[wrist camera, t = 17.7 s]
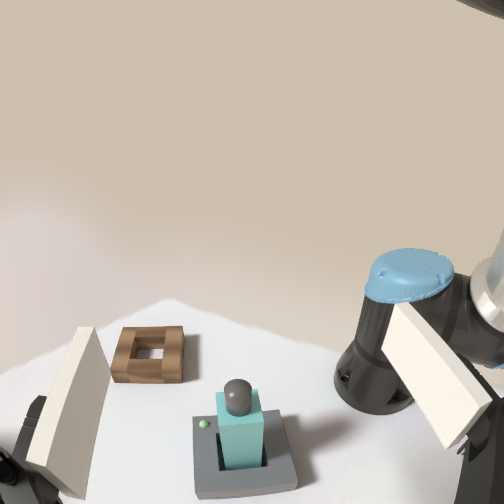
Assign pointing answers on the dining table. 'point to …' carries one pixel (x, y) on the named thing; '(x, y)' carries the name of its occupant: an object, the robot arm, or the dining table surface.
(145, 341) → the holster
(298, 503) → the dining table surface
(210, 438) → the port
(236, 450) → the plug
